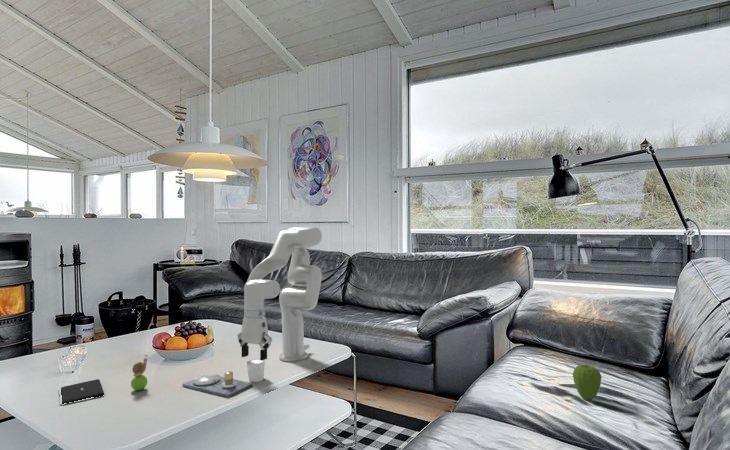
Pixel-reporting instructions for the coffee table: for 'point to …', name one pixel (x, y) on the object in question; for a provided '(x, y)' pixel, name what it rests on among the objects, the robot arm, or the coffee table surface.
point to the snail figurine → (139, 375)
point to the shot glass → (255, 370)
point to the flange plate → (218, 384)
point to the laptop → (81, 391)
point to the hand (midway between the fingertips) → (254, 358)
